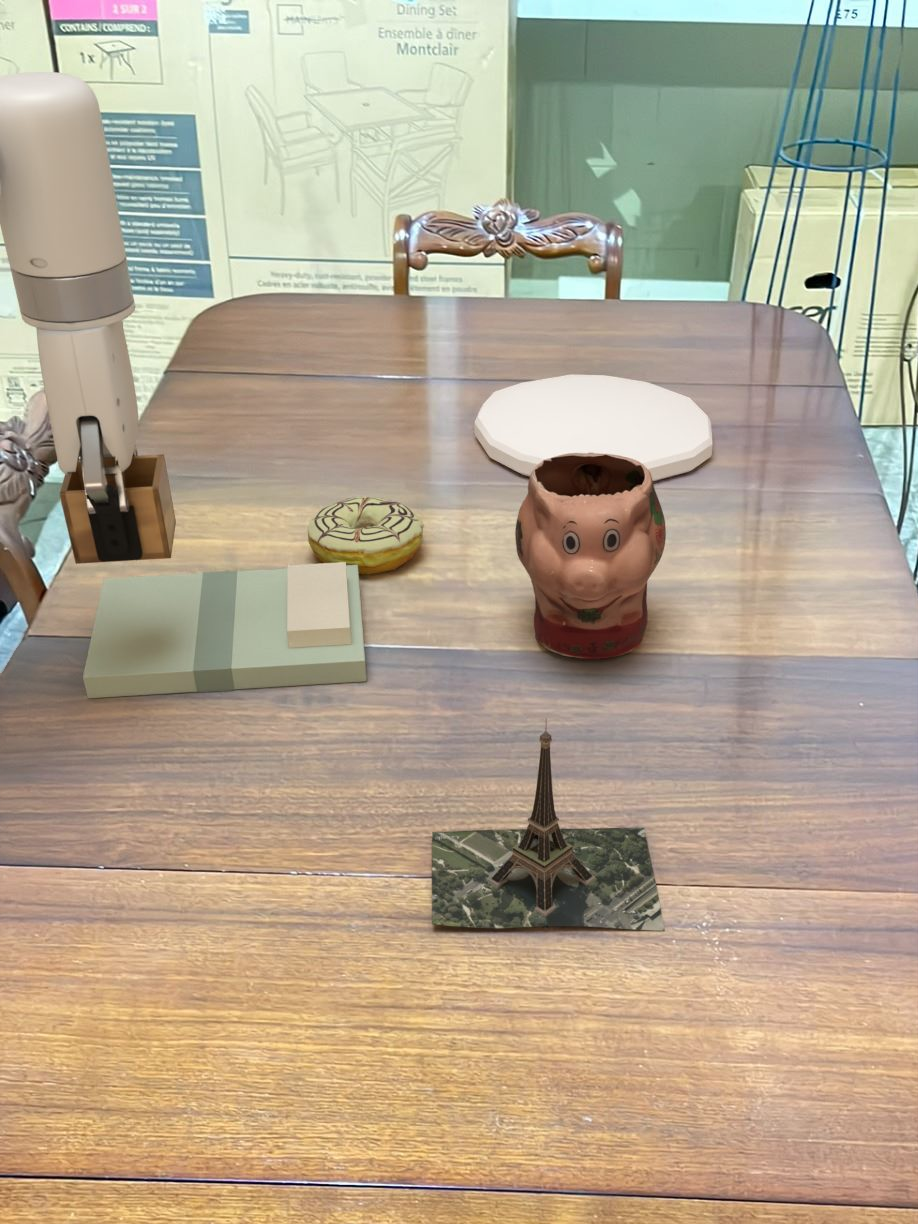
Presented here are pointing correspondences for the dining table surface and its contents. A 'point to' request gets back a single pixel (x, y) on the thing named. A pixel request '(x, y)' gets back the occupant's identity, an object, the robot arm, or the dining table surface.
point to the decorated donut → (366, 534)
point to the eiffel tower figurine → (544, 873)
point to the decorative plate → (594, 423)
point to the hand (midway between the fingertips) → (124, 535)
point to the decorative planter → (590, 551)
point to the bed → (227, 631)
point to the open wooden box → (143, 492)
